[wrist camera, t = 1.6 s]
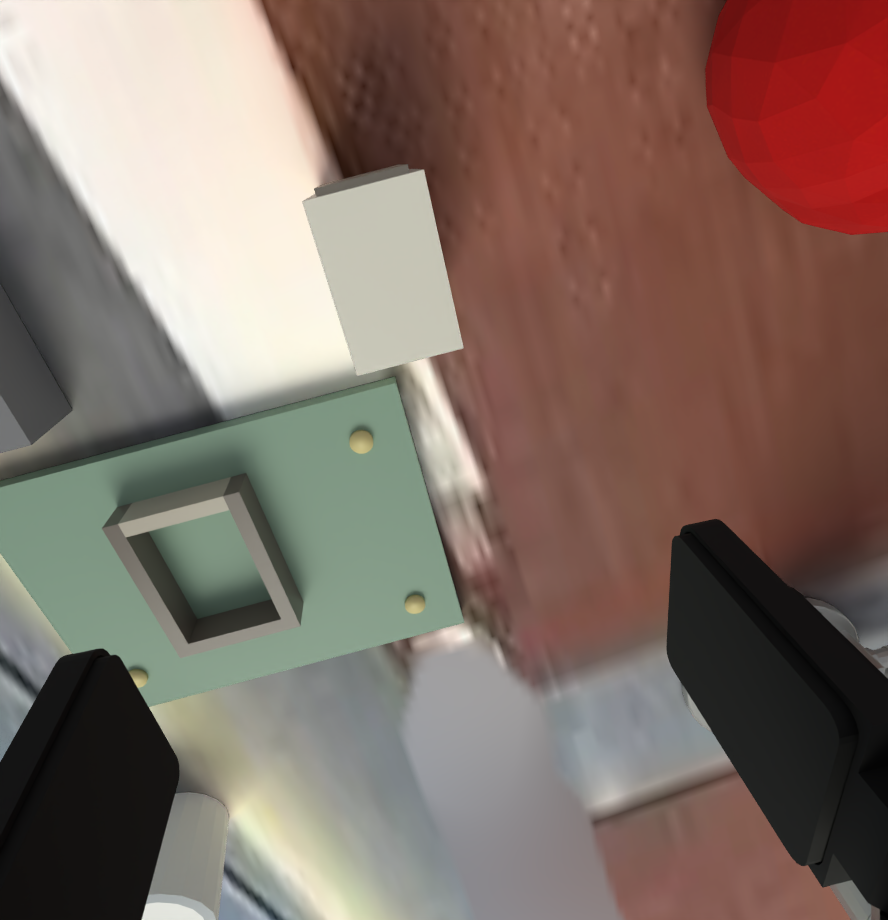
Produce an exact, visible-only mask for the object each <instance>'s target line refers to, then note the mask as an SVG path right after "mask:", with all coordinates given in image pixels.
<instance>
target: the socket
mask: <svg viewBox="0 0 888 920" xmlns="http://www.w3.org/2000/svg"><path fill="white" fill-rule="evenodd" d="M228 510H230V512H231V514H232V517H233V519H234V521H235V523H236V525H237V527H238V529H239V531H240V533H241V536H242V538H243V540H244V542H245V544H246V546H247V548H248V550H249V552H250V555H251V557H252V559H253V561H254V563H255V565H256V567H257V569H258V571H259V573H260V576H261V578H262V580H263V582H264V584H265V586H266V588H267V590H268V592H269V595H270V597H271V600H267V601H263V602H259V603H256V604H252V605H248V606H244V607H241V608H237V609H233V610H229V611H226V612H222V613H218V614H214V615H211V616H207V617H203V618H199V619H197V617H196V616H195V614H194V612H193V610H192V609H191V607H190V605H189V603H188V601H187V600H186V598H185V596H184V594H183V593H182V591H181V589H180V587H179V585H178V584H177V582H176V580H175V578H174V577H173V575H172V573H171V571H170V569H169V568H168V566H167V564H166V562H165V561H164V559H163V557H162V555H161V553H160V552H159V550H158V548H157V546H156V545H155V543H154V541H153V539H152V537H151V536H150V534H149V532H148V531H152V530H156V529H160V528H163V527H167V526H171V525H175V524H179V523H182V522H186V521H190V520H194V519H197V518H201V517H205V516H209V515H212V514H216V513H220V512H224V511H228ZM102 530H103V531H104V533H105V535H106V536H107V538H108V540H109V541H110V543H111V545H112V546H113V548H114V550H115V551H116V553H117V555H118V556H119V558H120V560H121V561H122V563H123V565H124V566H125V568H126V570H127V571H128V573H129V574H130V576H131V578H132V579H133V581H134V583H135V584H136V586H137V588H138V589H139V591H140V593H141V594H142V596H143V598H144V599H145V601H146V603H147V604H148V606H149V608H150V609H151V611H152V613H153V614H154V616H155V617H156V619H157V621H158V622H159V624H160V626H161V627H162V629H163V631H164V632H165V634H166V636H167V637H168V639H169V641H170V642H171V644H172V646H173V647H174V649H175V651H176V652H177V654H178V656H179V657H180V658H184V657H187V656H191V655H195V654H199V653H202V652H206V651H210V650H214V649H217V648H221V647H225V646H229V645H232V644H236V643H240V642H244V641H247V640H251V639H255V638H259V637H262V636H266V635H270V634H274V633H277V632H281V631H285V630H289V629H292V628H296V627H300V626H301V619H302V612H303V604H304V602H303V600H302V597H301V595H300V593H299V591H298V588H297V586H296V584H295V582H294V579H293V577H292V575H291V573H290V570H289V568H288V566H287V564H286V561H285V559H284V557H283V555H282V552H281V550H280V548H279V546H278V543H277V541H276V539H275V537H274V534H273V532H272V530H271V528H270V525H269V523H268V521H267V519H266V516H265V514H264V512H263V510H262V507H261V505H260V503H259V500H258V498H257V496H256V494H255V491H254V489H253V487H252V485H251V482H250V480H249V478H248V476H247V473H244V474H240V475H236V476H233V477H229V478H225V479H221V480H218V481H214V482H210V483H206V484H202V485H199V486H195V487H191V488H187V489H184V490H180V491H176V492H172V493H168V494H165V495H161V496H157V497H153V498H150V499H146V500H142V501H138V502H134V503H131V504H127V505H123V506H119V507H117V508H116V509H115V511H114V512H113V513H112V515H111V516H110V518H109V519H108V520H107V522H106V523H105V524H104V526H103V527H102Z"/></svg>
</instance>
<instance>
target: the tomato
mask: <svg viewBox="0 0 888 920" xmlns="http://www.w3.org/2000/svg"><path fill="white" fill-rule="evenodd" d="M705 72H706V97H707V108H708V110H709V112H710V115H711V117H712V120H713V122H714V125H715V127H716V129H717V132H718V134H719V137H720V139H721V141H722V144H723V146H724V149H725V151H726V154H727V156H728V158H729V159H730V160H731V161H732V163H733V164H734V165H735V166H736V168H737V169H738V170H739V171H740V173H741V174H742V175H743V176H744V177H745V178H746V179H747V180H748V181H749V182H751V183H752V184H753V185H754V186H755V187H756V188H758V189H759V190H760V191H761V192H762V193H764V194H765V195H766V196H767V197H768V198H770V199H771V200H772V201H773V202H774V203H775V204H777V205H778V206H779V207H780V208H781V209H783V210H784V211H785V212H787V213H788V214H790V215H791V216H793V217H794V218H795V219H797V220H798V221H800V222H801V223H804V224H808V225H812V226H816V227H821V228H825V229H829V230H833V231H837V232H842V233H846V234H850V235H854V234H867V233H879V232H888V0H727V1H726V3H725V5H724V7H723V9H722V11H721V12H720V14H719V16H718V20H717V24H716V28H715V32H714V36H713V40H712V44H711V48H710V52H709V56H708V60H707V64H706V68H705Z"/></svg>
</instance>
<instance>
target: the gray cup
mask: <svg viewBox="0 0 888 920" xmlns="http://www.w3.org/2000/svg"><path fill="white" fill-rule="evenodd" d="M228 822H229V816H228V812H227V808H226V807H225V806H224V805H223V804H222V803H221V802H220V801H219V800H217V799H215V798H212V797H210V796H208V795H205V794H200V793H192V792H185V793H176V794H175V796H174V800H173V803H172V807H171V811H170V815H169V819H168V822H167V826H166V830H165V834H164V838H163V841H162V845H161V849H160V853H159V856H158V860H157V864H156V868H155V872H154V875H153V879H152V883H151V887H150V891H149V894H148V898H147V902H146V906H145V909H144V913H143V917H142V920H218V915H219V906H220V897H221V887H222V878H223V869H224V860H225V850H226V841H227V832H228Z"/></svg>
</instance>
